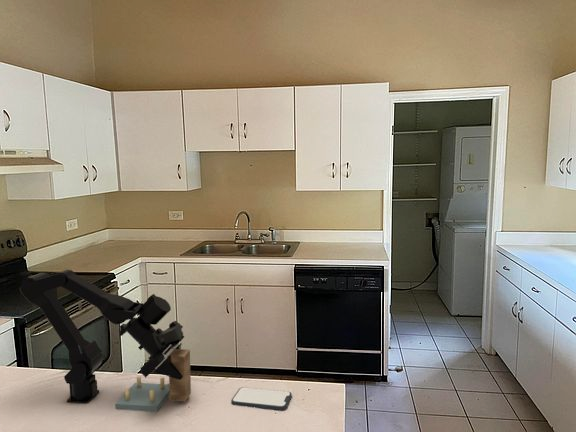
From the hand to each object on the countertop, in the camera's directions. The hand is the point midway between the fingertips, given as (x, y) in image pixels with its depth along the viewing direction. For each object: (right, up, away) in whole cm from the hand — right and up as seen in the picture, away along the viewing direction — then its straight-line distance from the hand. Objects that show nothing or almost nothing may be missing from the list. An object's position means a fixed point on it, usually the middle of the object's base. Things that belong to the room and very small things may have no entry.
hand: (184, 374), depth 124 cm
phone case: (+22, -8, +1) cm, 23 cm away
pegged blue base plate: (-12, -8, +2) cm, 14 cm away
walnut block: (-1, -7, +1) cm, 7 cm away
